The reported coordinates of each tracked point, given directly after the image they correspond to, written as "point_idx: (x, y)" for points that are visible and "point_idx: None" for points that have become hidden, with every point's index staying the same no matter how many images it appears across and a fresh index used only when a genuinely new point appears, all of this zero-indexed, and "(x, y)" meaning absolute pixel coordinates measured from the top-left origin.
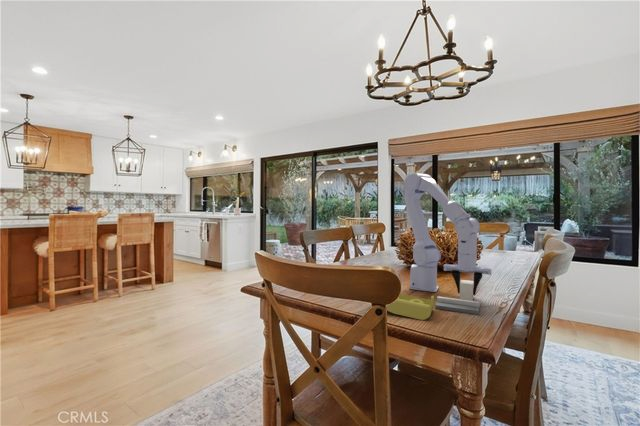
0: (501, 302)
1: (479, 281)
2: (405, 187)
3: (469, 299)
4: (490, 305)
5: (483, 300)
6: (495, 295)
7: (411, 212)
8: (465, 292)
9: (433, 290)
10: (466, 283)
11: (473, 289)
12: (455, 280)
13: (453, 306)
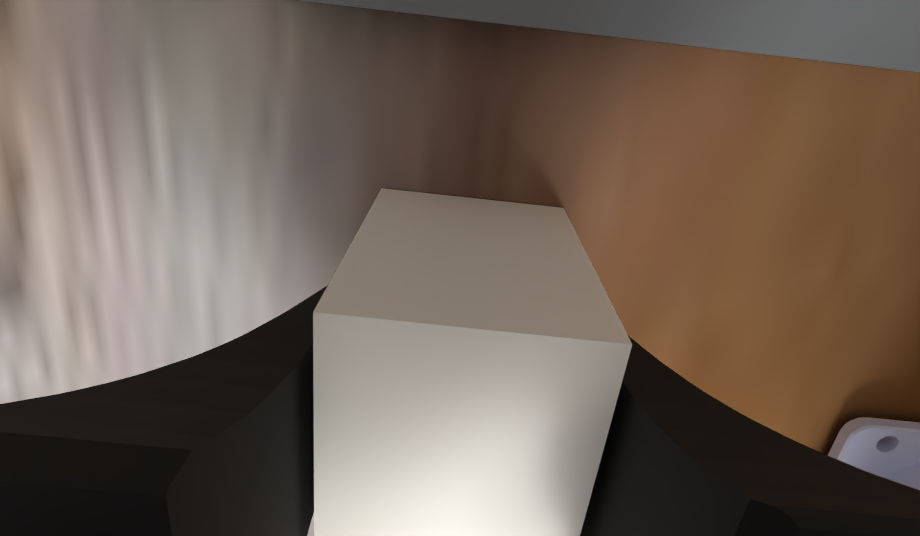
0: (25, 272)
1: (118, 382)
2: None
3: (426, 197)
4: (132, 52)
5: (245, 280)
6: None
7: None
8: (486, 239)
9: (882, 450)
10: (471, 339)
11: None
12: (743, 422)
13: None
